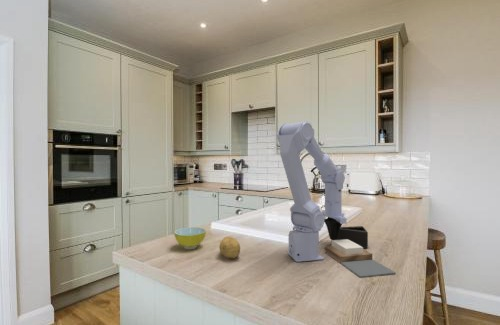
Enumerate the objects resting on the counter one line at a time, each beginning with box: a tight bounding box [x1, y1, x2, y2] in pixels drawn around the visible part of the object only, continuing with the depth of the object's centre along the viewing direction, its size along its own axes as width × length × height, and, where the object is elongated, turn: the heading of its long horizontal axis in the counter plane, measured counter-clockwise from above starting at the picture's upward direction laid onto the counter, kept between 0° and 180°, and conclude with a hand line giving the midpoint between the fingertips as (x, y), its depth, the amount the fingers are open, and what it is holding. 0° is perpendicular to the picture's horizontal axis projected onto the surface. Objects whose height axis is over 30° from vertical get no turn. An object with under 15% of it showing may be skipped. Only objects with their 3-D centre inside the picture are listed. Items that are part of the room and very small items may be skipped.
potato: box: [219, 236, 241, 259], centre depth 90 cm, size 7×11×6 cm, turn 10°
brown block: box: [324, 245, 373, 264], centre depth 89 cm, size 11×10×2 cm
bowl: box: [173, 226, 207, 251], centre depth 99 cm, size 11×12×6 cm
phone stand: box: [330, 225, 369, 250], centre depth 102 cm, size 9×6×12 cm
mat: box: [340, 259, 397, 279], centre depth 79 cm, size 11×10×1 cm
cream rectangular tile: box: [331, 239, 363, 255], centre depth 90 cm, size 6×9×2 cm, turn 11°
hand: (333, 239), depth 98 cm, fingers closed
